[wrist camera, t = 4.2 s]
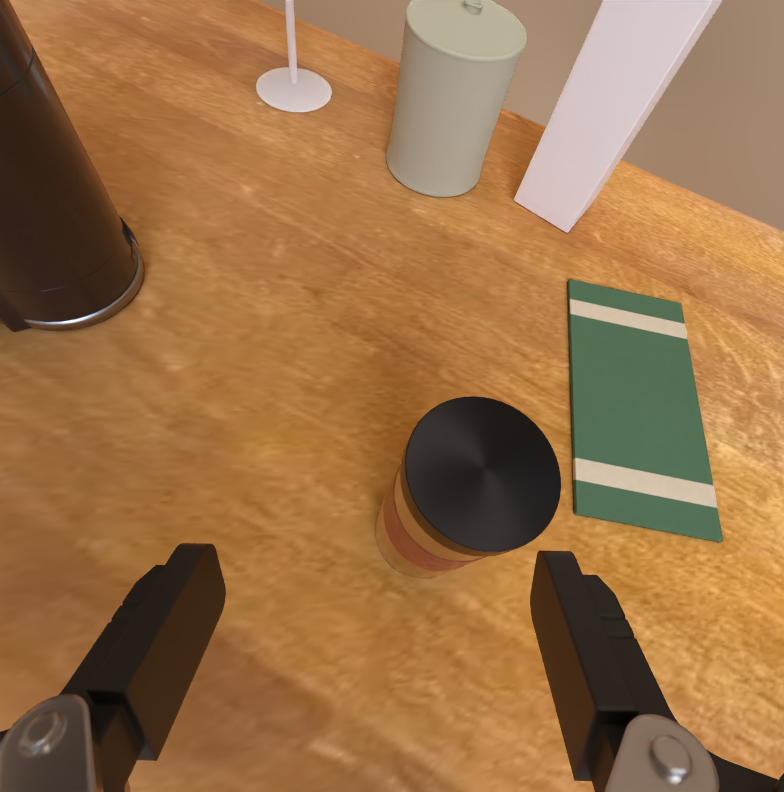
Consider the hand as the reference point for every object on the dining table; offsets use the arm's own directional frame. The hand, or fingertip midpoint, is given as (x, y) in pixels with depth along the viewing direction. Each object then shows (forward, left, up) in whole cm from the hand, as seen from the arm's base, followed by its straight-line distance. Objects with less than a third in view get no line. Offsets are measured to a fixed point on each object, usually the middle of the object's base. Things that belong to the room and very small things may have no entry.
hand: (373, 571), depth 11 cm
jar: (+6, +1, -16) cm, 17 cm away
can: (+26, +29, -16) cm, 42 cm away
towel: (+25, +1, -16) cm, 30 cm away
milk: (+34, +20, -16) cm, 42 cm away
